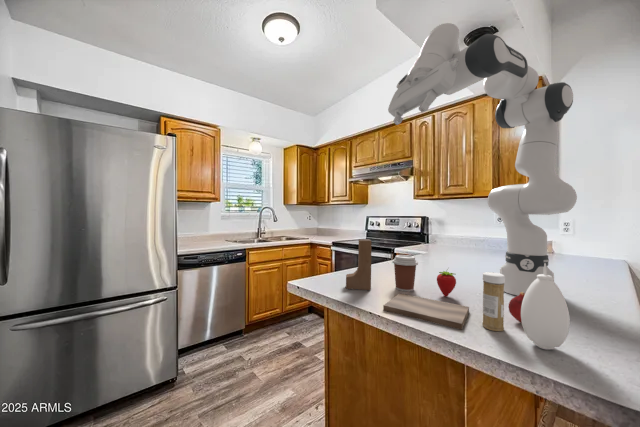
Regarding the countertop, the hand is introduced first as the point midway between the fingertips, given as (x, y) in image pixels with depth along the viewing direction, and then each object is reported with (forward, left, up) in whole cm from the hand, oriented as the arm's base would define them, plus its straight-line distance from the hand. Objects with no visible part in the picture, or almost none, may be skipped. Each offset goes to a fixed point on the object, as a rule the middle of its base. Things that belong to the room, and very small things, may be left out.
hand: (408, 116), depth 68 cm
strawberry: (-27, +5, -54) cm, 60 cm away
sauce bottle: (-3, +28, -54) cm, 61 cm away
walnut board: (-9, +3, -53) cm, 54 cm away
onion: (-16, +25, -54) cm, 61 cm away
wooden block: (-17, -23, -54) cm, 61 cm away
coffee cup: (-27, -9, -54) cm, 61 cm away
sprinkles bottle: (-8, +19, -54) cm, 58 cm away
